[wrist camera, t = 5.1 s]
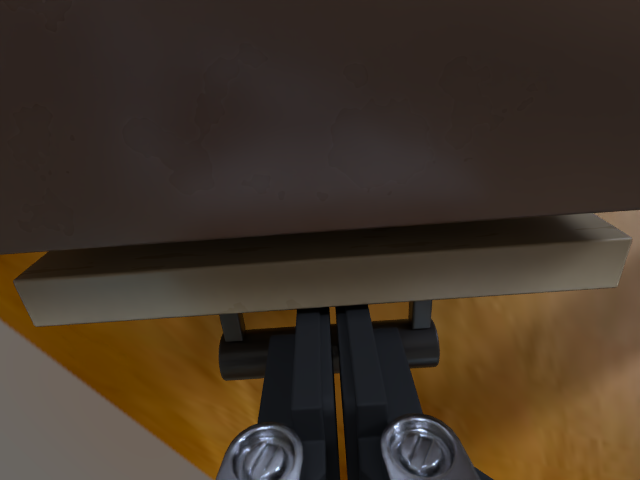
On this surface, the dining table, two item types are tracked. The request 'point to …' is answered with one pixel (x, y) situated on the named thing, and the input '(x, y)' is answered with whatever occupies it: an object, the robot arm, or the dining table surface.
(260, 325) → the dining table surface
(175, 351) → the dining table surface
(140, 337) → the dining table surface
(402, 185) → the cabinet
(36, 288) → the drawer
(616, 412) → the dining table surface
